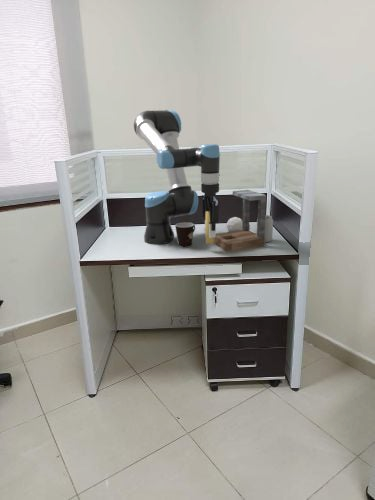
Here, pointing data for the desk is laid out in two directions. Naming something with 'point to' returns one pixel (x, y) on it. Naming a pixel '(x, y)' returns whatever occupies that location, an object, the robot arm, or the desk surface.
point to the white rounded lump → (234, 224)
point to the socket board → (238, 240)
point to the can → (268, 228)
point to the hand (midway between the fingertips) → (210, 235)
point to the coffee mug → (185, 233)
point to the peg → (208, 240)
